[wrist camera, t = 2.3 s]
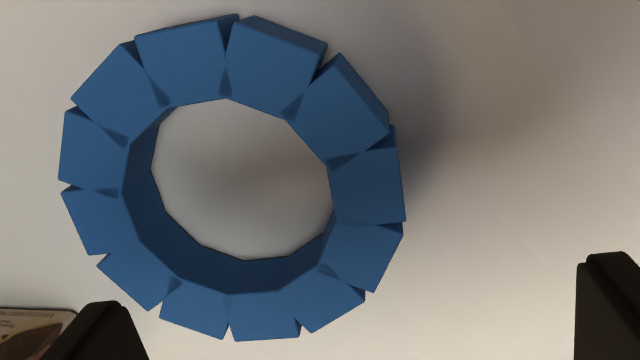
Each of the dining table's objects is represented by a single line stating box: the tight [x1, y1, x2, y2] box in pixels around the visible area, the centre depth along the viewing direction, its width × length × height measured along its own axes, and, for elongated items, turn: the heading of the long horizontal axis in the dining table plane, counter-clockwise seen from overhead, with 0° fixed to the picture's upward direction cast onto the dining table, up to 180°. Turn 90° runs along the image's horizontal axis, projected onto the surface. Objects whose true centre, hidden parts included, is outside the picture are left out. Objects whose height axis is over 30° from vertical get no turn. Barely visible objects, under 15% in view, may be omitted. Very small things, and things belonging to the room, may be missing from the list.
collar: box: [58, 14, 406, 342], centre depth 18 cm, size 12×12×2 cm
